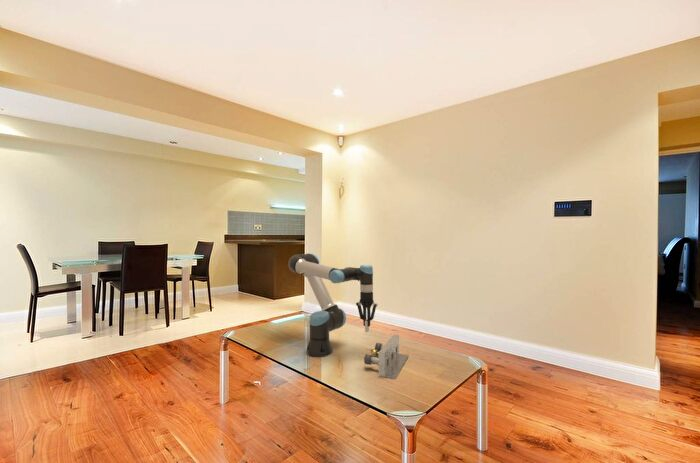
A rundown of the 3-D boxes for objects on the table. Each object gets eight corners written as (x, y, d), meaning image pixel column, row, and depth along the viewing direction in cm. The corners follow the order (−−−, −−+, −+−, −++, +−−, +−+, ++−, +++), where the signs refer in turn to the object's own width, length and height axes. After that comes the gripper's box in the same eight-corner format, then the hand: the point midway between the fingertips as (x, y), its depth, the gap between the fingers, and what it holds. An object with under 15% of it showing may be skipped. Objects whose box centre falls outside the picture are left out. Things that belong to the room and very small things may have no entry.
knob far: (374, 353, 180) (374, 344, 180) (377, 350, 185) (377, 341, 185) (393, 356, 176) (393, 347, 176) (395, 352, 181) (395, 344, 181)
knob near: (364, 365, 164) (364, 355, 164) (367, 361, 168) (367, 352, 168) (384, 368, 159) (384, 359, 159) (387, 365, 164) (387, 355, 164)
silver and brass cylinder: (370, 357, 172) (370, 350, 172) (372, 355, 176) (372, 348, 176) (389, 360, 168) (389, 353, 168) (391, 358, 172) (391, 350, 172)
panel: (378, 376, 157) (378, 352, 157) (394, 354, 185) (394, 334, 185) (395, 379, 154) (395, 354, 154) (408, 356, 181) (408, 336, 181)
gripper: (353, 291, 184) (354, 332, 184) (375, 293, 179) (375, 334, 179) (358, 289, 191) (358, 328, 191) (379, 290, 186) (379, 330, 186)
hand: (366, 331), depth 185 cm, fingers closed
